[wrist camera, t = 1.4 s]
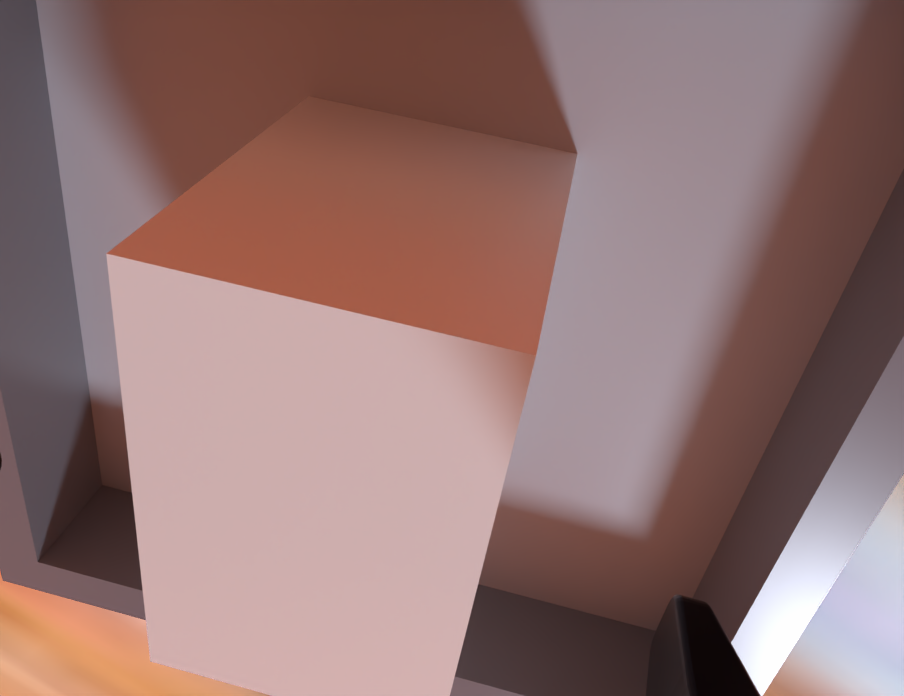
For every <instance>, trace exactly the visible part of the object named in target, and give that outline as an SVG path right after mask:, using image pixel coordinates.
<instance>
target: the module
mask: <svg viewBox="0 0 904 696" xmlns="http://www.w3.org/2000/svg"><path fill="white" fill-rule="evenodd" d="M576 159H577V154H576V153H571V152H567V151H562V150H557V149H553V148H548V147H543V146H539V145H534V144H529V143H525V142H520V141H515V140H511V139H506V138H501V137H497V136H492V135H488V134H483V133H478V132H474V131H469V130H464V129H460V128H455V127H450V126H446V125H441V124H436V123H432V122H427V121H422V120H418V119H413V118H408V117H404V116H399V115H395V114H390V113H385V112H381V111H376V110H371V109H367V108H362V107H357V106H353V105H348V104H343V103H339V102H334V101H329V100H325V99H320V98H315V97H311V96H308V97H307V98H306V99H304V100H303V101H302V102H300V103H299V104H298V105H297V106H295V107H294V108H293V109H291V110H290V111H289V112H288V113H286V114H285V115H284V116H282V117H281V118H280V119H279V120H277V121H276V122H275V123H273V124H272V125H271V126H270V127H268V128H267V129H266V130H264V131H263V132H262V133H261V134H259V135H258V136H257V137H255V138H254V139H253V140H252V141H250V142H249V143H248V144H246V145H245V146H244V147H243V148H241V149H240V150H239V151H237V152H236V153H235V154H234V155H232V156H231V157H230V158H228V159H227V160H226V161H225V162H223V163H222V164H221V165H219V166H218V167H217V168H216V169H214V170H213V171H212V172H210V173H209V174H208V175H207V176H205V177H204V178H203V179H201V180H200V181H199V182H198V183H196V184H195V185H194V186H192V187H191V188H190V189H189V190H187V191H186V192H185V193H183V194H182V195H181V196H180V197H178V198H177V199H176V200H174V201H173V202H172V203H171V204H169V205H168V206H167V207H165V208H164V209H163V210H162V211H160V212H159V213H158V214H156V215H155V216H154V217H153V218H151V219H150V220H149V221H147V222H146V223H145V224H144V225H142V226H141V227H140V228H138V229H137V230H136V231H135V232H133V233H132V234H131V235H129V236H128V237H127V238H126V239H124V240H123V241H122V242H120V243H119V244H118V245H117V246H115V247H114V248H113V249H111V250H110V251H109V252H108V253H106V256H107V266H108V275H109V284H110V293H111V303H112V312H113V321H114V330H115V340H116V349H117V358H118V367H119V376H120V386H121V395H122V404H123V413H124V423H125V432H126V441H127V450H128V460H129V469H130V478H131V487H132V497H133V506H134V515H135V524H136V534H137V543H138V552H139V561H140V571H141V580H142V589H143V598H144V608H145V617H146V626H147V635H148V645H149V654H150V661H151V662H154V663H158V664H161V665H165V666H168V667H172V668H175V669H179V670H183V671H186V672H190V673H193V674H197V675H200V676H204V677H207V678H211V679H214V680H218V681H222V682H225V683H229V684H232V685H236V686H239V687H243V688H246V689H250V690H254V691H257V692H261V693H264V694H268V695H271V696H450V693H451V689H452V685H453V681H454V677H455V673H456V669H457V665H458V661H459V657H460V654H461V650H462V646H463V642H464V638H465V634H466V630H467V626H468V622H469V618H470V614H471V610H472V606H473V602H474V598H475V594H476V591H477V587H478V583H479V579H480V575H481V571H482V567H483V563H484V559H485V555H486V551H487V547H488V543H489V539H490V535H491V531H492V528H493V524H494V520H495V516H496V512H497V508H498V504H499V500H500V496H501V492H502V488H503V484H504V480H505V476H506V472H507V468H508V465H509V461H510V457H511V453H512V449H513V445H514V441H515V437H516V433H517V429H518V425H519V421H520V417H521V413H522V409H523V405H524V402H525V398H526V394H527V390H528V386H529V382H530V378H531V374H532V370H533V366H534V362H535V358H536V354H537V349H538V344H539V339H540V334H541V330H542V325H543V320H544V315H545V310H546V305H547V300H548V295H549V291H550V286H551V281H552V276H553V271H554V266H555V261H556V256H557V252H558V247H559V242H560V237H561V232H562V227H563V222H564V217H565V213H566V208H567V203H568V198H569V193H570V188H571V183H572V179H573V174H574V169H575V164H576Z"/></svg>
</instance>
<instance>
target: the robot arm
mask: <svg viewBox="0 0 904 696" xmlns="http://www.w3.org/2000/svg"><path fill="white" fill-rule="evenodd" d="M1 466H2V458H1V453H0V470H1ZM646 696H761V695H760V694H759V692H758V690H757V688H756V687H755V685H754V683H753V681H752V679H751V678H750V676H749V674H748V672H747V670H746V669H745V667H744V665H743V663H742V661H741V660H740V658H739V656H738V654H737V653H736V651H735V649H734V647H733V645H732V644H731V642H730V640H729V638H728V636H727V635H726V633H725V631H724V629H723V628H722V626H721V624H720V622H719V620H718V619H717V617H716V615H715V613H714V611H713V610H712V608H711V607H710V605H709V604H708V603H706V602H705V601H702V600H698V599H694V598H691V597H687V596H683V595H675V596H673V597H672V598H671V599H670V601H669V603H668V605H667V607H666V610H665V612H664V614H663V616H662V618H661V620H660V622H659V625H658V627H657V629H656V631H655V633H654V636H653V639H652V643H651V648H650V655H649V665H648V676H647V687H646Z"/></svg>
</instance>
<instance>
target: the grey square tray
mask: <svg viewBox="0 0 904 696" xmlns="http://www.w3.org/2000/svg"><path fill="white" fill-rule="evenodd" d="M308 96H311V97H315V98H320V99H325V100H329V101H334V102H339V103H343V104H348V105H353V106H357V107H362V108H367V109H371V110H376V111H381V112H385V113H390V114H395V115H399V116H404V117H408V118H413V119H418V120H422V121H427V122H432V123H436V124H441V125H446V126H450V127H455V128H460V129H464V130H469V131H474V132H478V133H483V134H488V135H492V136H497V137H501V138H506V139H511V140H515V141H520V142H525V143H529V144H534V145H539V146H543V147H548V148H553V149H557V150H562V151H567V152H571V153H576V154H577V159H576V164H575V169H574V174H573V179H572V183H571V188H570V193H569V198H568V203H567V208H566V213H565V217H564V222H563V227H562V232H561V237H560V242H559V247H558V252H557V256H556V261H555V266H554V271H553V276H552V281H551V286H550V291H549V295H548V300H547V305H546V310H545V315H544V320H543V325H542V330H541V334H540V339H539V344H538V349H537V354H536V358H535V362H534V366H533V370H532V374H531V378H530V382H529V386H528V390H527V394H526V398H525V402H524V405H523V409H522V413H521V417H520V421H519V425H518V429H517V433H516V437H515V441H514V445H513V449H512V453H511V457H510V461H509V465H508V468H507V472H506V476H505V480H504V484H503V488H502V492H501V496H500V500H499V504H498V508H497V512H496V516H495V520H494V524H493V528H492V531H491V535H490V539H489V543H488V547H487V551H486V555H485V559H484V563H483V567H482V571H481V575H480V579H479V583H478V587H477V591H476V594H475V598H474V602H473V606H472V610H471V614H470V618H469V622H468V626H467V630H466V634H465V638H464V642H463V646H462V650H461V654H460V657H459V661H458V665H457V669H456V673H455V677H454V681H453V685H452V689H451V693H450V696H646V687H647V676H648V665H649V655H650V648H651V643H652V639H653V636H654V633H655V631H656V629H657V627H658V625H659V622H660V620H661V618H662V616H663V614H664V612H665V610H666V607H667V605H668V603H669V601H670V599H671V598H672V597H673V596H675V595H683V596H687V597H691V598H694V599H698V600H702V601H705V602H706V603H708V604H709V605H710V607H711V608H712V610H713V611H714V613H715V615H716V617H717V619H718V620H719V622H720V624H721V626H722V628H723V629H724V631H725V633H726V635H727V636H728V638H729V640H730V642H731V644H732V645H733V647H734V649H735V651H736V653H737V654H738V656H739V658H740V660H741V661H742V663H743V665H744V667H745V669H746V670H747V672H748V674H749V676H750V678H751V679H752V681H753V683H754V685H755V687H756V688H757V690H758V692H759V694H760V695H761V696H763V694H764V692H765V691H766V689H767V688H768V686H769V685H770V683H771V681H772V680H773V678H774V677H775V675H776V674H777V672H778V670H779V669H780V667H781V666H782V664H783V663H784V661H785V659H786V658H787V656H788V655H789V653H790V652H791V650H792V648H793V647H794V645H795V644H796V642H797V641H798V639H799V637H800V636H801V634H802V633H803V631H804V630H805V628H806V626H807V625H808V623H809V622H810V620H811V619H812V617H813V615H814V614H815V612H816V611H817V609H818V608H819V606H820V605H821V603H822V601H823V600H824V598H825V597H826V595H827V594H828V592H829V590H830V589H831V587H832V586H833V584H834V583H835V581H836V579H837V578H838V576H839V575H840V573H841V572H842V570H843V568H844V567H845V565H846V564H847V562H848V561H849V559H850V557H851V556H852V554H853V553H854V551H855V550H856V548H857V546H858V545H859V543H860V542H861V540H862V539H863V537H864V535H865V534H866V532H867V531H868V529H869V528H870V526H871V524H872V523H873V521H874V520H875V518H876V517H877V515H878V513H879V512H880V510H881V509H882V507H883V506H884V504H885V502H886V501H887V499H888V498H889V496H890V495H891V493H892V491H893V490H894V488H895V487H896V485H897V484H898V482H899V480H900V479H901V477H902V476H903V474H904V0H0V453H1V458H2V466H1V470H0V571H1V575H2V579H3V581H7V582H10V583H14V584H18V585H21V586H25V587H28V588H32V589H36V590H39V591H43V592H46V593H50V594H54V595H57V596H61V597H64V598H68V599H72V600H75V601H79V602H82V603H86V604H90V605H93V606H97V607H101V608H104V609H108V610H111V611H115V612H119V613H122V614H126V615H129V616H133V617H137V618H140V619H144V620H146V617H145V608H144V598H143V589H142V580H141V571H140V561H139V552H138V543H137V534H136V524H135V515H134V506H133V497H132V487H131V478H130V469H129V460H128V450H127V441H126V432H125V423H124V413H123V404H122V395H121V386H120V376H119V367H118V358H117V349H116V340H115V330H114V321H113V312H112V303H111V293H110V284H109V275H108V266H107V256H106V253H108V252H109V251H110V250H111V249H113V248H114V247H115V246H117V245H118V244H119V243H120V242H122V241H123V240H124V239H126V238H127V237H128V236H129V235H131V234H132V233H133V232H135V231H136V230H137V229H138V228H140V227H141V226H142V225H144V224H145V223H146V222H147V221H149V220H150V219H151V218H153V217H154V216H155V215H156V214H158V213H159V212H160V211H162V210H163V209H164V208H165V207H167V206H168V205H169V204H171V203H172V202H173V201H174V200H176V199H177V198H178V197H180V196H181V195H182V194H183V193H185V192H186V191H187V190H189V189H190V188H191V187H192V186H194V185H195V184H196V183H198V182H199V181H200V180H201V179H203V178H204V177H205V176H207V175H208V174H209V173H210V172H212V171H213V170H214V169H216V168H217V167H218V166H219V165H221V164H222V163H223V162H225V161H226V160H227V159H228V158H230V157H231V156H232V155H234V154H235V153H236V152H237V151H239V150H240V149H241V148H243V147H244V146H245V145H246V144H248V143H249V142H250V141H252V140H253V139H254V138H255V137H257V136H258V135H259V134H261V133H262V132H263V131H264V130H266V129H267V128H268V127H270V126H271V125H272V124H273V123H275V122H276V121H277V120H279V119H280V118H281V117H282V116H284V115H285V114H286V113H288V112H289V111H290V110H291V109H293V108H294V107H295V106H297V105H298V104H299V103H300V102H302V101H303V100H304V99H306V98H307V97H308Z"/></svg>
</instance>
